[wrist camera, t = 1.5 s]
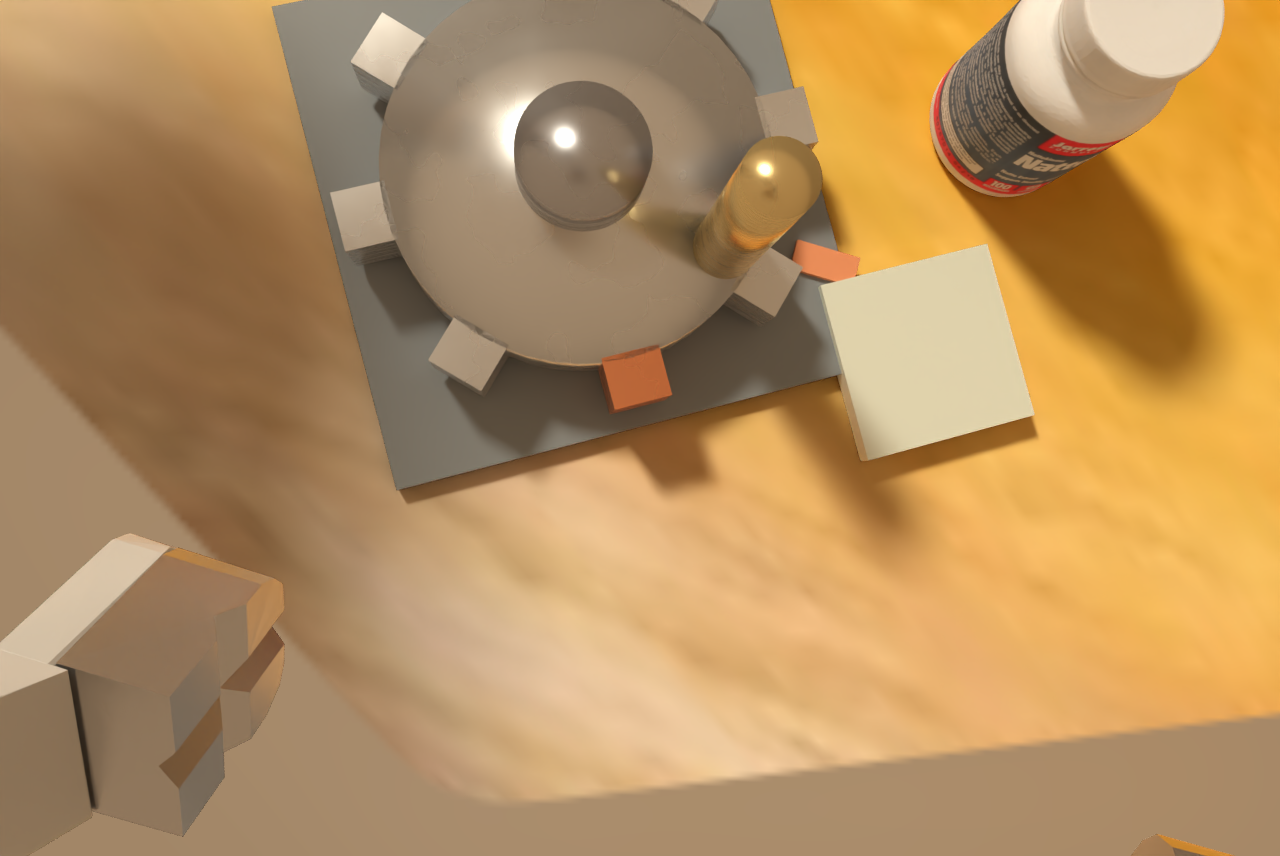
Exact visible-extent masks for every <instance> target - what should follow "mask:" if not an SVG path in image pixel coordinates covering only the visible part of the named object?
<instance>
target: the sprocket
mask: <svg viewBox="0 0 1280 856" xmlns="http://www.w3.org/2000/svg"><path fill="white" fill-rule="evenodd" d="M718 2H719V0H472V1H470V2H468V3H467V4H465V5H463V6H462V7H460V8H459V9H457V10H456V11H455V12H454V13H452V14H451V15H450V16H449V17H447V18H446V19H445V20H443V21H442V22H441V23H440V24H439V25H438V26H437V27H436V28H435V29H434V30H433V31H432V32H431V33H430V34H429V35H428V36H427V37H426V38H424V37H422V36H421V35H419V34H417V33H416V32H414V31H412V30H411V29H409V28H407V27H406V26H404V25H402V24H401V23H399V22H397V21H396V20H394V19H393V18H391V17H389V16H388V15H386V14H384V13H383V12H382V13H381V15H380V16H379V18H378V19H377V21H376V23H375V24H374V26H373V27H372V29H371V30H370V32H369V34H368V35H367V37H366V38H365V40H364V41H363V43H362V44H361V46H360V48H359V49H358V51H357V52H356V54H355V55H354V57H353V58H352V60H351V64H352V67H353V69H354V71H355V74H356V76H357V79H358V81H359V83H360V86H361V88H362V89H364V90H366V91H367V92H369V93H371V94H372V95H374V96H376V97H377V98H379V99H381V100H382V101H384V102H386V103H387V104H388V105H387V108H386V112H385V117H384V121H383V125H382V130H381V136H380V147H379V159H378V160H379V179H380V182H375V183H371V184H366V185H362V186H357V187H353V188H349V189H344V190H340V191H335V192H331V193H330V195H331V199H332V202H333V206H334V210H335V214H336V218H337V222H338V226H339V229H340V233H341V237H342V241H343V245H344V249H345V252H346V253H347V254H348V256H349V257H350V258H351V259H352V261H353V262H354V263H355V265H356V266H360V265H364V264H368V263H373V262H377V261H381V260H385V259H390V258H394V257H398V256H403V258H404V260H405V262H406V263H407V265H408V267H409V269H410V271H411V272H412V274H413V276H414V277H415V279H416V280H417V282H418V283H419V285H420V286H421V288H422V289H423V291H424V292H425V294H426V295H427V296H428V298H429V299H430V300H431V301H432V302H433V303H434V304H435V306H436V307H437V308H438V309H439V310H440V311H441V312H442V314H443V315H445V316H446V317H447V318H448V319H449V320H450V321H451V323H450V325H449V326H448V328H447V330H446V331H445V333H444V335H443V336H442V338H441V339H440V341H439V343H438V344H437V346H436V348H435V349H434V351H433V353H432V354H431V356H430V358H429V359H428V361H429V362H430V363H431V364H432V366H433V367H434V368H435V369H437V370H439V371H440V372H442V373H444V374H445V375H447V376H449V377H451V378H452V379H454V380H456V381H457V382H459V383H461V384H463V385H464V386H466V387H468V388H469V389H471V390H473V391H475V392H476V393H478V394H480V395H482V396H483V397H485V395H486V393H487V392H488V390H489V388H490V387H491V385H492V383H493V382H494V380H495V378H496V377H497V375H498V373H499V372H500V370H501V368H502V367H503V365H504V363H505V362H506V360H507V358H508V357H509V358H512V359H515V360H518V361H521V362H524V363H527V364H530V365H535V366H540V367H545V368H549V369H557V370H569V371H589V370H598V372H599V376H600V380H601V384H602V387H603V391H604V395H605V399H606V402H607V406H608V410H609V414H614V413H618V412H621V411H625V410H629V409H633V408H637V407H641V406H645V405H648V404H652V403H656V402H660V401H664V400H665V399H667V398H668V397H670V396H671V395H672V392H671V388H670V384H669V381H668V377H667V373H666V369H665V366H664V362H663V358H662V354H661V352H662V351H664V350H666V349H668V348H670V347H672V346H673V345H675V344H676V343H678V342H679V341H681V340H683V339H684V338H686V337H687V336H689V335H690V334H691V333H692V332H694V331H695V330H696V329H697V328H698V327H699V326H701V325H702V324H703V323H704V322H705V321H706V320H708V319H709V318H710V317H711V316H712V315H713V314H714V313H715V312H716V311H717V310H718V309H719V308H720V307H721V306H722V305H724V306H726V307H727V308H729V309H731V310H732V311H734V312H736V313H737V314H739V315H741V316H742V317H744V318H746V319H747V320H749V321H751V322H752V323H754V324H756V325H757V326H759V327H761V326H763V325H764V324H765V323H767V322H768V321H770V320H771V319H773V318H774V317H775V316H776V314H777V312H778V311H779V309H780V307H781V305H782V304H783V302H784V300H785V298H786V297H787V295H788V293H789V291H790V290H791V288H792V286H793V284H794V283H795V281H796V279H797V277H798V276H799V274H800V272H801V270H802V269H803V267H802V266H800V265H799V264H797V263H795V262H794V261H792V260H790V259H789V258H787V257H785V256H784V255H782V254H780V253H779V252H777V251H775V250H774V249H772V248H771V247H772V246H773V245H774V244H775V243H776V242H777V241H778V240H779V239H780V238H781V237H782V236H783V235H784V234H785V233H786V232H787V231H788V230H789V229H790V228H791V227H792V226H793V225H794V224H795V223H796V222H797V221H798V220H799V219H800V218H801V217H802V216H803V215H804V214H805V213H806V212H807V211H808V210H809V209H810V208H811V206H812V205H813V204H814V203H815V201H816V200H817V198H818V196H819V194H820V191H821V187H822V171H821V167H820V164H819V161H818V159H817V157H816V156H815V154H814V153H813V152H812V151H811V150H812V149H813V147H814V146H815V145H816V144H817V143H818V139H817V135H816V131H815V128H814V124H813V120H812V117H811V113H810V109H809V106H808V102H807V98H806V95H805V91H804V87H803V86H802V87H798V88H794V89H789V90H785V91H780V92H776V93H771V94H767V95H762V96H758V94H757V92H756V90H755V88H754V86H753V84H752V82H751V80H750V78H749V76H748V75H747V73H746V72H745V70H744V69H743V67H742V66H741V64H740V63H739V61H738V60H737V58H736V57H735V55H734V54H733V53H732V52H731V51H730V49H729V48H728V47H727V46H726V45H725V44H724V42H723V41H722V40H721V39H720V38H719V37H718V36H717V35H716V34H715V33H714V32H713V31H712V30H711V29H710V28H709V27H708V26H707V24H708V23H709V21H710V19H711V18H712V16H713V14H714V12H715V10H716V7H717V5H718Z"/></svg>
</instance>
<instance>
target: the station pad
mask: <svg viewBox="0 0 1280 856" xmlns="http://www.w3.org/2000/svg"><path fill="white" fill-rule="evenodd" d="M818 289H819V293H820V296H821V300H822V304H823V307H824V311H825V315H826V318H827V322H828V326H829V329H830V333H831V337H832V340H833V344H834V348H835V351H836V355H837V359H838V362H839V366H840V370H841V373H842V374H839V375H837V377H838V381H839V384H840V388H841V392H842V395H843V399H844V403H845V406H846V410H847V414H848V417H849V421H850V425H851V428H852V432H853V436H854V439H855V443H856V447H857V450H858V454H859V458H860V461H868V460H872V459H876V458H879V457H883V456H887V455H890V454H894V453H898V452H901V451H905V450H909V449H912V448H916V447H919V446H923V445H927V444H930V443H934V442H938V441H941V440H945V439H949V438H952V437H956V436H960V435H963V434H967V433H971V432H974V431H978V430H982V429H985V428H989V427H993V426H996V425H1000V424H1004V423H1007V422H1011V421H1015V420H1018V419H1022V418H1025V417H1029V416H1033V415H1035V414H1034V411H1033V407H1032V403H1031V400H1030V396H1029V393H1028V389H1027V385H1026V382H1025V378H1024V375H1023V371H1022V367H1021V364H1020V360H1019V357H1018V353H1017V349H1016V346H1015V342H1014V339H1013V335H1012V331H1011V328H1010V324H1009V321H1008V317H1007V313H1006V310H1005V306H1004V303H1003V299H1002V295H1001V292H1000V288H999V285H998V281H997V277H996V274H995V270H994V266H993V263H992V259H991V256H990V252H989V248H988V245H987V244H984V245H980V246H976V247H972V248H968V249H964V250H960V251H956V252H952V253H948V254H944V255H940V256H936V257H932V258H928V259H924V260H920V261H916V262H912V263H908V264H904V265H900V266H896V267H892V268H888V269H884V270H880V271H876V272H872V273H868V274H864V275H860V276H856V277H852V278H848V279H844V280H840V281H836V282H832V283H828V284H824V285H820V286H819V287H818Z"/></svg>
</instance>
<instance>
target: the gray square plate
mask: <svg viewBox="0 0 1280 856" xmlns="http://www.w3.org/2000/svg"><path fill="white" fill-rule="evenodd" d="M470 1H472V0H303V1H298V2H293V3H288V4H283V5H278V6H273V7H272V9H273V13H274V17H275V21H276V25H277V29H278V33H279V37H280V41H281V44H282V48H283V52H284V56H285V60H286V64H287V68H288V72H289V75H290V79H291V83H292V87H293V91H294V95H295V99H296V103H297V106H298V110H299V114H300V118H301V122H302V126H303V130H304V134H305V137H306V141H307V145H308V149H309V153H310V157H311V161H312V165H313V168H314V172H315V176H316V180H317V184H318V188H319V192H320V196H321V199H322V203H323V207H324V211H325V215H326V219H327V223H328V227H329V230H330V234H331V238H332V242H333V246H334V250H335V254H336V258H337V261H338V265H339V269H340V273H341V277H342V281H343V285H344V289H345V292H346V296H347V300H348V304H349V308H350V312H351V316H352V320H353V323H354V327H355V331H356V335H357V339H358V343H359V347H360V351H361V354H362V358H363V362H364V366H365V370H366V374H367V378H368V382H369V385H370V389H371V393H372V397H373V401H374V405H375V409H376V413H377V416H378V420H379V424H380V428H381V432H382V436H383V440H384V444H385V447H386V451H387V455H388V459H389V463H390V467H391V471H392V475H393V478H394V482H395V486H396V490H401V489H405V488H409V487H413V486H417V485H420V484H424V483H428V482H432V481H436V480H439V479H443V478H447V477H451V476H455V475H459V474H462V473H466V472H470V471H474V470H478V469H481V468H485V467H489V466H493V465H497V464H501V463H504V462H508V461H512V460H516V459H520V458H523V457H527V456H531V455H535V454H539V453H543V452H546V451H550V450H554V449H558V448H562V447H565V446H569V445H573V444H577V443H581V442H585V441H588V440H592V439H596V438H600V437H604V436H607V435H611V434H615V433H619V432H623V431H627V430H630V429H634V428H638V427H642V426H646V425H649V424H653V423H657V422H661V421H665V420H669V419H672V418H676V417H680V416H684V415H688V414H691V413H695V412H699V411H703V410H707V409H711V408H714V407H718V406H722V405H726V404H730V403H734V402H737V401H741V400H745V399H749V398H753V397H756V396H760V395H764V394H768V393H772V392H776V391H779V390H783V389H787V388H791V387H795V386H798V385H802V384H806V383H810V382H814V381H818V380H821V379H825V378H829V377H833V376H837V375H839V374H842V373H841V370H840V366H839V362H838V359H837V355H836V351H835V348H834V344H833V340H832V337H831V333H830V329H829V326H828V322H827V318H826V315H825V311H824V307H823V304H822V300H821V296H820V293H819V289H818V287H819V286H820V285H824V284H828V283H832V282H836V281H840V280H844V279H848V278H852V277H856V273H857V269H858V265H859V261H860V258H859V257H855V256H852V255H849V254H845V253H842V252H839V251H838V249H837V245H836V241H835V238H834V234H833V230H832V227H831V223H830V219H829V216H828V212H827V208H826V205H825V201H824V197H823V194H822V190H821V191H820V194H819V196H818V198H817V200H816V201H815V203H814V204H813V205H812V206H811V208H810V209H809V210H808V211H807V212H806V213H805V214H804V215H803V216H802V217H801V218H800V219H799V220H798V221H797V222H796V223H795V224H794V225H793V226H792V227H791V228H790V229H789V230H788V231H787V232H786V233H785V234H784V235H783V236H782V237H781V238H780V239H779V240H778V241H777V242H776V243H775V244H774V245H773V246H772V247H771V248H772V249H774V250H775V251H777V252H779V253H780V254H782V255H784V256H785V257H787V258H789V259H790V260H792V261H794V262H795V263H797V264H799V265H800V266H802V267H803V269H802V270H801V272H800V274H799V276H798V277H797V279H796V281H795V283H794V284H793V286H792V288H791V290H790V291H789V293H788V295H787V297H786V298H785V300H784V302H783V304H782V305H781V307H780V309H779V311H778V312H777V314H776V316H775V317H774V318H773V319H771V320H770V321H768V322H767V323H765V324H764V325H763V326H761V327H759V326H757V325H756V324H754V323H752V322H751V321H749V320H747V319H746V318H744V317H742V316H741V315H739V314H737V313H736V312H734V311H732V310H731V309H729V308H727V307H726V306H724V305H722V306H721V307H720V308H719V309H718V310H717V311H716V312H715V313H714V314H713V315H712V316H711V317H710V318H709V319H708V320H706V321H705V322H704V323H703V324H702V325H701V326H699V327H698V328H697V329H696V330H695V331H694V332H692V333H691V334H690V335H689V336H687V337H686V338H684V339H683V340H681V341H679V342H678V343H676V344H675V345H673V346H672V347H670V348H668V349H666V350H664V351H662V352H661V354H662V358H663V362H664V366H665V369H666V373H667V377H668V381H669V384H670V388H671V392H672V395H671V396H670V397H668V398H667V399H665V400H664V401H660V402H656V403H652V404H648V405H645V406H641V407H637V408H633V409H629V410H625V411H621V412H618V413H614V414H609V410H608V406H607V402H606V399H605V395H604V391H603V387H602V384H601V380H600V376H599V372H598V370H589V371H569V370H557V369H549V368H545V367H540V366H535V365H530V364H527V363H524V362H521V361H518V360H515V359H512V358H509V357H508V358H507V360H506V362H505V363H504V365H503V367H502V368H501V370H500V372H499V373H498V375H497V377H496V378H495V380H494V382H493V383H492V385H491V387H490V388H489V390H488V392H487V393H486V395H485V397H483V396H482V395H480V394H478V393H476V392H475V391H473V390H471V389H469V388H468V387H466V386H464V385H463V384H461V383H459V382H457V381H456V380H454V379H452V378H451V377H449V376H447V375H445V374H444V373H442V372H440V371H439V370H437V369H435V368H434V367H433V366H432V364H431V363H430V362H429V361H428V359H429V358H430V356H431V354H432V353H433V351H434V349H435V348H436V346H437V344H438V343H439V341H440V339H441V338H442V336H443V335H444V333H445V331H446V330H447V328H448V326H449V325H450V323H451V321H450V320H449V319H448V318H447V317H446V316H445V315H443V314H442V312H441V311H440V310H439V309H438V308H437V307H436V306H435V304H434V303H433V302H432V301H431V300H430V299H429V298H428V296H427V295H426V294H425V292H424V291H423V289H422V288H421V286H420V285H419V283H418V282H417V280H416V279H415V277H414V276H413V274H412V272H411V271H410V269H409V267H408V265H407V263H406V262H405V260H404V258H403V256H398V257H394V258H390V259H385V260H381V261H377V262H373V263H368V264H364V265H360V266H356V265H355V263H354V262H353V261H352V259H351V258H350V257H349V256H348V254H347V253H346V252H345V249H344V245H343V241H342V237H341V233H340V229H339V226H338V222H337V218H336V214H335V210H334V206H333V202H332V199H331V195H330V193H331V192H335V191H340V190H344V189H349V188H353V187H357V186H362V185H366V184H371V183H375V182H380V179H379V160H378V159H379V147H380V136H381V130H382V125H383V121H384V117H385V112H386V108H387V105H388V104H387V103H386V102H384V101H382V100H381V99H379V98H377V97H376V96H374V95H372V94H371V93H369V92H367V91H366V90H364V89H362V88H361V86H360V83H359V81H358V79H357V76H356V74H355V71H354V69H353V67H352V64H351V60H352V58H353V57H354V55H355V54H356V52H357V51H358V49H359V48H360V46H361V44H362V43H363V41H364V40H365V38H366V37H367V35H368V34H369V32H370V30H371V29H372V27H373V26H374V24H375V23H376V21H377V19H378V18H379V16H380V15H381V13H382V12H383V13H384V14H386V15H388V16H389V17H391V18H393V19H394V20H396V21H397V22H399V23H401V24H402V25H404V26H406V27H407V28H409V29H411V30H412V31H414V32H416V33H417V34H419V35H421V36H422V37H424V38H426V37H427V36H428V35H429V34H430V33H431V32H432V31H433V30H434V29H435V28H436V27H437V26H438V25H439V24H440V23H441V22H442V21H443V20H445V19H446V18H447V17H449V16H450V15H451V14H452V13H454V12H455V11H456V10H457V9H459V8H460V7H462V6H463V5H465V4H467V3H468V2H470ZM707 26H708V27H709V28H710V29H711V30H712V31H713V32H714V33H715V34H716V35H717V36H718V37H719V38H720V39H721V40H722V41H723V42H724V44H725V45H726V46H727V47H728V48H729V49H730V51H731V52H732V53H733V54H734V55H735V57H736V58H737V60H738V61H739V63H740V64H741V66H742V67H743V69H744V70H745V72H746V73H747V75H748V76H749V78H750V80H751V82H752V84H753V86H754V88H755V90H756V92H757V94H758V96H762V95H767V94H771V93H776V92H780V91H785V90H789V89H794V88H793V84H792V80H791V77H790V73H789V69H788V66H787V62H786V58H785V55H784V51H783V47H782V44H781V40H780V36H779V33H778V29H777V25H776V22H775V18H774V14H773V11H772V7H771V3H770V0H719V2H718V5H717V7H716V10H715V12H714V14H713V16H712V18H711V19H710V21H709V23H708V24H707Z"/></svg>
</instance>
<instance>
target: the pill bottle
mask: <svg viewBox="0 0 1280 856" xmlns="http://www.w3.org/2000/svg"><path fill="white" fill-rule="evenodd" d="M1223 23H1224V2H1223V0H1020V1H1019V2H1018V3H1017V4H1016V5H1015V6H1014V7H1013V8H1012V9H1011V10H1010V11H1009V12H1008V13H1007V14H1006V15H1005V16H1004V17H1003V18H1002V19H1001V20H1000V21H999V22H998V23H997V24H996V25H995V26H994V27H993V28H992V29H991V30H990V31H989V32H988V33H987V34H986V35H985V36H984V37H982V38H981V39H980V40H979V41H978V42H977V43H976V44H975V45H974V46H973V47H972V48H971V49H970V50H968V51H967V52H966V53H965V54H964V55H963V56H962V57H961V58H960V59H959V60H958V61H957V62H956V63H955V64H954V65H953V66H952V67H951V68H950V69H949V70H948V72H947V73H946V74H945V75H944V76H943V78H942V79H941V81H940V83H939V84H938V86H937V88H936V90H935V93H934V96H933V99H932V103H931V108H930V130H931V136H932V140H933V143H934V146H935V149H936V151H937V153H938V155H939V157H940V159H941V161H942V162H943V164H944V165H945V166H946V168H947V169H948V170H949V171H950V172H951V174H953V175H954V176H955V177H956V178H957V179H958V180H959V181H960V182H962V183H963V184H965V185H966V186H968V187H969V188H971V189H973V190H975V191H978V192H980V193H983V194H987V195H991V196H996V197H1013V196H1020V195H1024V194H1027V193H1030V192H1033V191H1035V190H1037V189H1039V188H1041V187H1043V186H1045V185H1047V184H1048V183H1050V182H1052V181H1054V180H1055V179H1057V178H1058V177H1060V176H1062V175H1063V174H1065V173H1067V172H1069V171H1070V170H1072V169H1074V168H1075V167H1077V166H1079V165H1080V164H1082V163H1084V162H1086V161H1088V160H1089V159H1091V158H1093V157H1095V156H1096V155H1098V154H1099V153H1101V152H1103V151H1104V150H1106V149H1108V148H1109V147H1111V146H1113V145H1115V144H1116V143H1118V142H1120V141H1122V140H1123V139H1125V138H1127V137H1128V136H1130V135H1132V134H1133V133H1135V132H1137V131H1138V130H1140V129H1141V128H1142V127H1144V126H1145V125H1146V124H1148V123H1149V122H1150V121H1151V120H1152V119H1154V118H1155V117H1156V116H1157V115H1158V114H1159V113H1160V112H1161V110H1162V109H1163V108H1164V106H1165V105H1166V104H1167V102H1168V101H1169V99H1170V97H1171V95H1172V94H1173V91H1174V89H1175V87H1176V84H1177V82H1179V81H1180V80H1181V79H1183V78H1185V77H1186V76H1188V75H1189V74H1190V73H1192V72H1193V71H1195V70H1196V69H1197V68H1198V67H1200V66H1201V65H1202V64H1203V63H1204V62H1205V61H1206V60H1207V59H1208V57H1209V56H1210V55H1211V53H1212V52H1213V51H1214V49H1215V47H1216V45H1217V43H1218V41H1219V39H1220V36H1221V32H1222V28H1223Z"/></svg>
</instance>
